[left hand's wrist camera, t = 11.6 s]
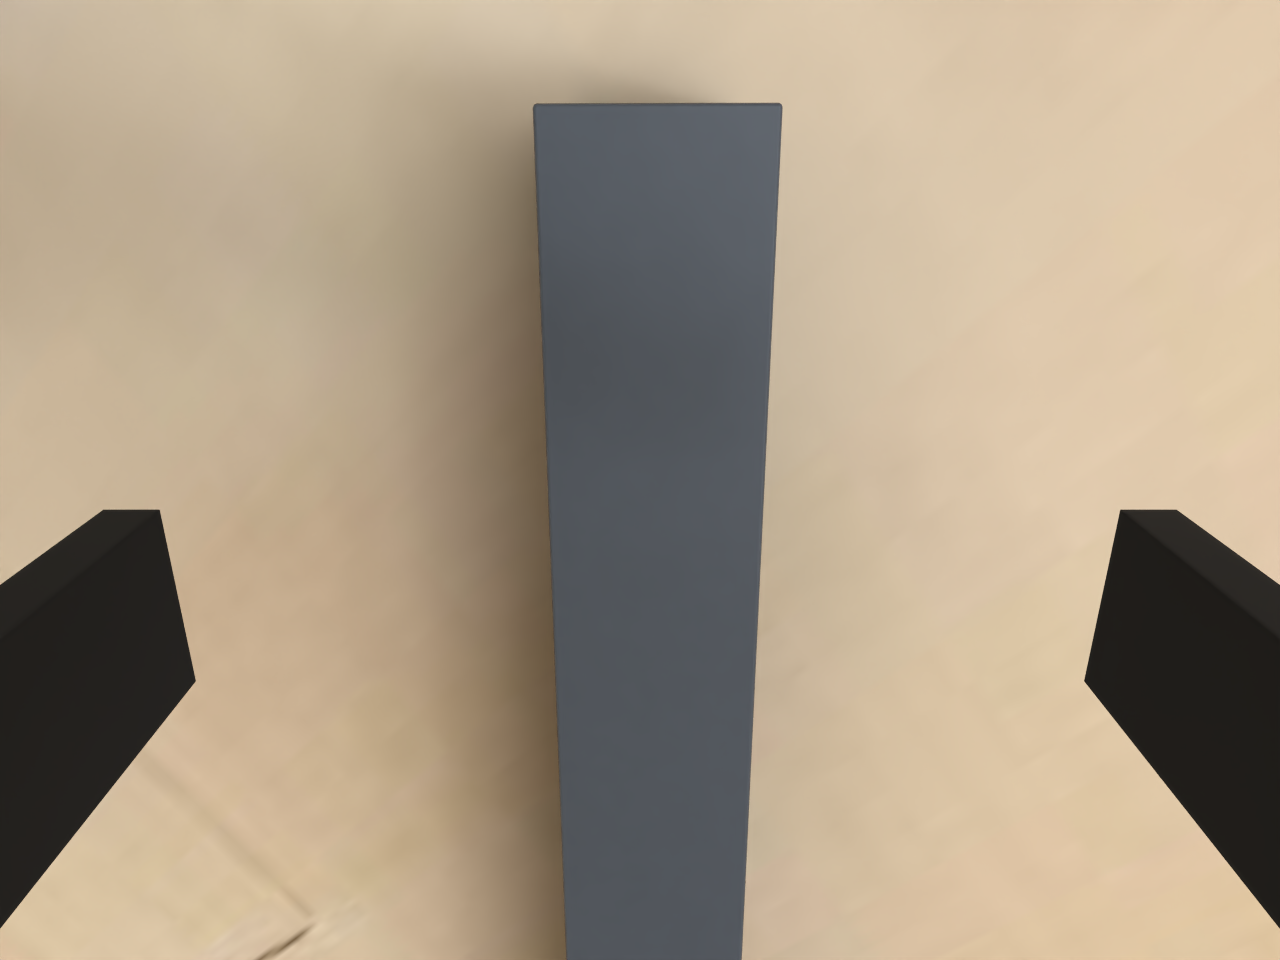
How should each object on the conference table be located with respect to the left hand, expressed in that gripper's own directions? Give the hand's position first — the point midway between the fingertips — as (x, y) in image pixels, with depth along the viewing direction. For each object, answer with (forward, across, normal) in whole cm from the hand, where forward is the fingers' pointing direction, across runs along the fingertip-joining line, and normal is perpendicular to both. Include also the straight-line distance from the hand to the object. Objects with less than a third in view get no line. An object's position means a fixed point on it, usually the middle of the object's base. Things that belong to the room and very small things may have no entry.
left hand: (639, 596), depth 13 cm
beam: (+16, 0, -25) cm, 29 cm away
